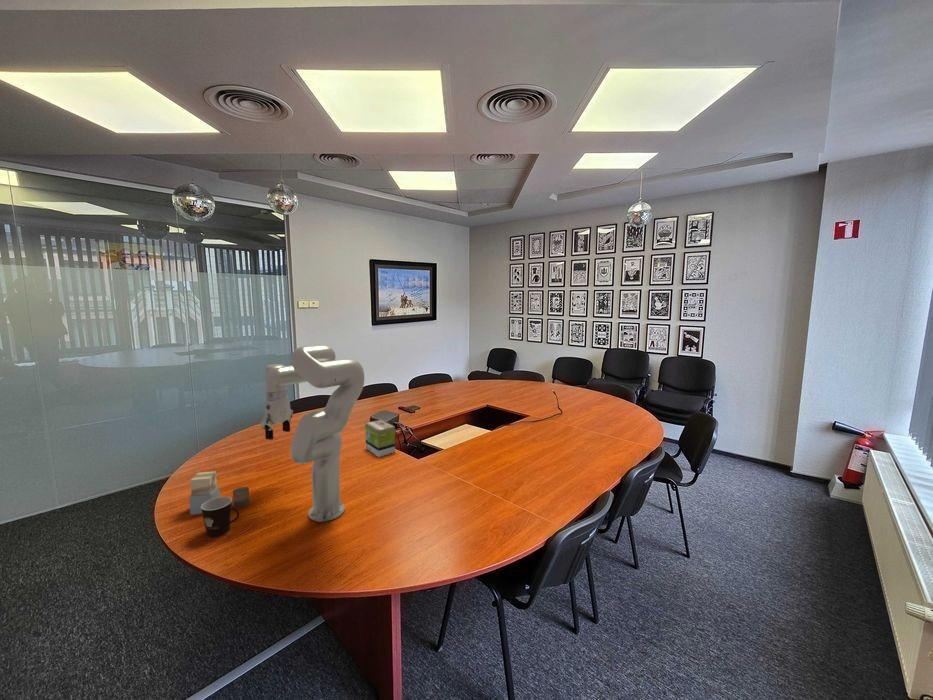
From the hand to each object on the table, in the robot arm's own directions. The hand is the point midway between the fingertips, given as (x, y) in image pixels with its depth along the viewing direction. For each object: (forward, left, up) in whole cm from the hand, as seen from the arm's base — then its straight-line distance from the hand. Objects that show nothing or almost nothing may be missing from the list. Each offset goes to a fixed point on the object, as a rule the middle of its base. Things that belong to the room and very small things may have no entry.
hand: (278, 435), depth 152 cm
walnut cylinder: (-12, +11, -23) cm, 28 cm away
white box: (-12, +23, -23) cm, 34 cm away
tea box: (+31, -42, -23) cm, 57 cm away
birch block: (-12, +23, -16) cm, 30 cm away
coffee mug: (-30, +12, -23) cm, 39 cm away
